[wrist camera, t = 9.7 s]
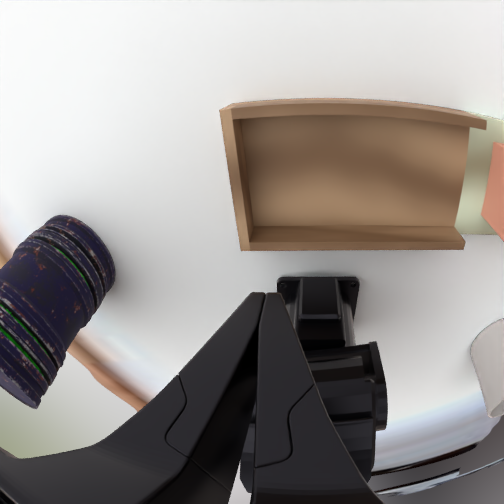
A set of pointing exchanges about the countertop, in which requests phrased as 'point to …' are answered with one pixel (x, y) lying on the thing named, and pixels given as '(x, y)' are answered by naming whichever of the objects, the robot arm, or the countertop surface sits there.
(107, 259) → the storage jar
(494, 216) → the block
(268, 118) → the wooden tray
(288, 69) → the countertop surface
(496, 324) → the cup
